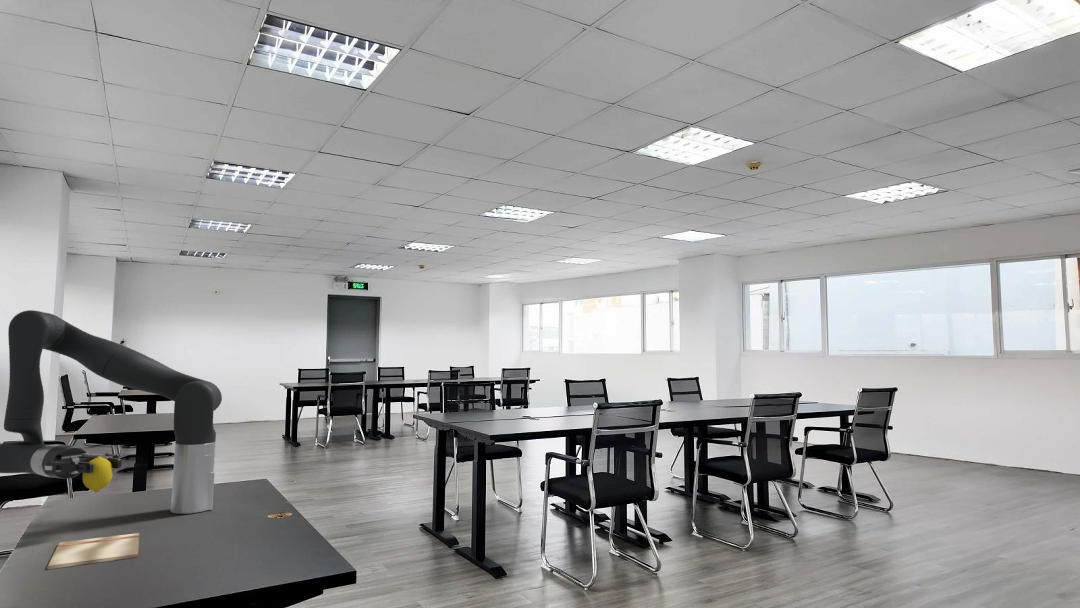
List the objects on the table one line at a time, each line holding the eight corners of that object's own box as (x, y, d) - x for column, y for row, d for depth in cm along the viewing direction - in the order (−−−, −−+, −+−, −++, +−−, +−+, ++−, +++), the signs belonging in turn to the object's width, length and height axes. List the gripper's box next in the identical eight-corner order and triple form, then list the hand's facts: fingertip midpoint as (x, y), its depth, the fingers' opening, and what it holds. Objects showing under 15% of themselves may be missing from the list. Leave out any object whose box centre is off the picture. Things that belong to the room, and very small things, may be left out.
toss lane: (139, 534, 134) (139, 532, 134) (137, 557, 119) (137, 554, 119) (59, 544, 127) (59, 541, 127) (47, 569, 112) (47, 566, 112)
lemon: (95, 495, 133) (97, 458, 134) (74, 494, 134) (77, 457, 135) (117, 490, 138) (119, 454, 139) (97, 489, 139) (99, 454, 140)
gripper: (24, 449, 136) (72, 453, 129) (92, 440, 149) (138, 444, 143) (22, 483, 135) (69, 489, 129) (90, 471, 148) (136, 477, 142)
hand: (105, 465), depth 136 cm, fingers closed on lemon, 5 cm apart
